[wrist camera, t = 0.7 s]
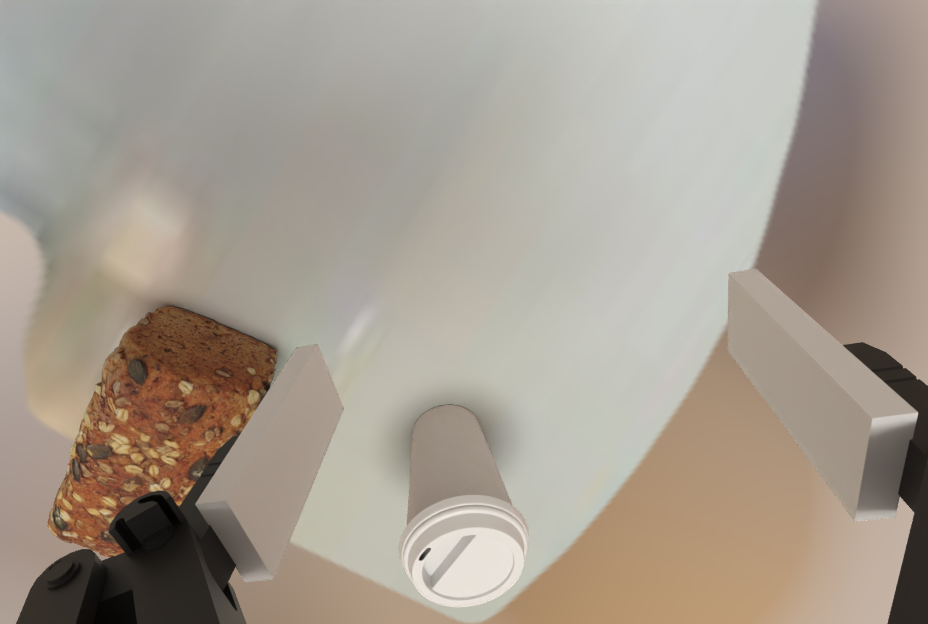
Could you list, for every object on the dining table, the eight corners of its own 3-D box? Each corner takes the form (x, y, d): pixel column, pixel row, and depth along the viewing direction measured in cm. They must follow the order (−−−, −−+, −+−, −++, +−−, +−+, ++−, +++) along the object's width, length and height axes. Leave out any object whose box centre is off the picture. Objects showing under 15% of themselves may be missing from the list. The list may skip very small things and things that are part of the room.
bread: (161, 292, 40) (96, 357, 31) (292, 347, 44) (267, 420, 35) (89, 464, 46) (17, 560, 37) (210, 500, 49) (171, 596, 40)
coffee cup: (458, 372, 47) (487, 495, 33) (514, 436, 51) (560, 569, 37) (375, 428, 48) (370, 568, 35) (435, 487, 52) (452, 632, 39)
